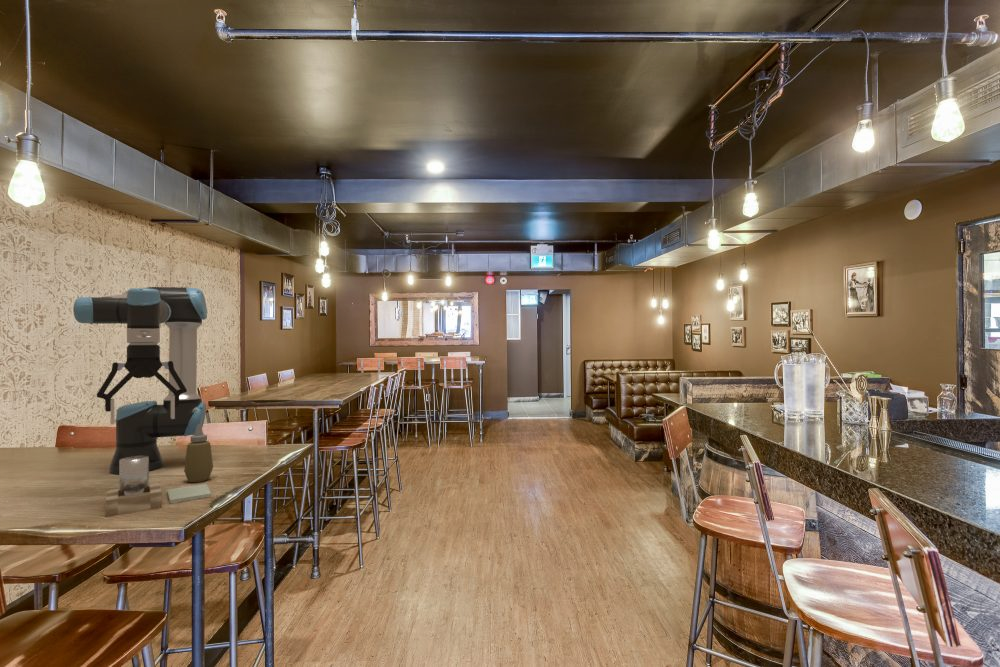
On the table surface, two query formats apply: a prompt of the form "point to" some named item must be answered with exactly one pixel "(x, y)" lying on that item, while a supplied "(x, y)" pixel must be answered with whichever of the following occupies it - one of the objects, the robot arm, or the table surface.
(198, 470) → the squeeze bottle
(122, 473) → the metal cylinder
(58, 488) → the table surface
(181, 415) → the robot arm
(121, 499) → the bore block
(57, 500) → the table surface
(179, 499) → the mat
